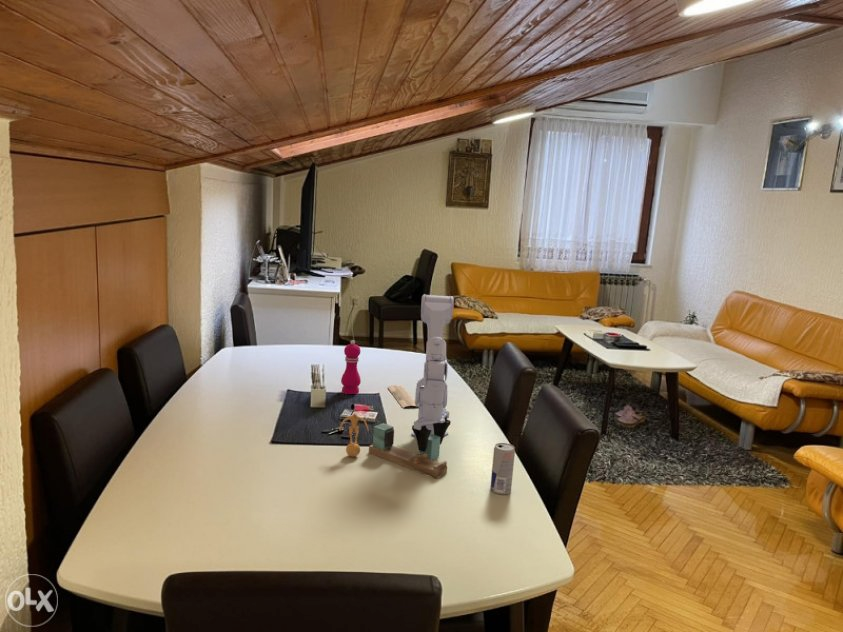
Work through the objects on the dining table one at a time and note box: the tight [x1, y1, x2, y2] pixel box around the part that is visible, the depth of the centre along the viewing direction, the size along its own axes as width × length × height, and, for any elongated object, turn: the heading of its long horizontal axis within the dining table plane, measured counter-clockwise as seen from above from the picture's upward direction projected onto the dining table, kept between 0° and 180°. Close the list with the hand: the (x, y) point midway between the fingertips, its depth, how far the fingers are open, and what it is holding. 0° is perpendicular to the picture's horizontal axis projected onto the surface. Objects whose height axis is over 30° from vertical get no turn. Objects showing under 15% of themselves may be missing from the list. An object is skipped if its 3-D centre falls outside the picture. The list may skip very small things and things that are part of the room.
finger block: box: [418, 434, 441, 461], centre depth 181 cm, size 4×5×6 cm
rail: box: [368, 423, 448, 479], centre depth 176 cm, size 5×24×8 cm, turn 53°
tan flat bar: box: [387, 384, 419, 409], centre depth 233 cm, size 24×7×2 cm, turn 16°
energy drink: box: [490, 442, 516, 496], centre depth 162 cm, size 5×5×12 cm
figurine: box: [338, 413, 369, 458], centre depth 178 cm, size 8×6×12 cm
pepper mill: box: [340, 339, 362, 395], centre depth 233 cm, size 7×7×20 cm
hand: (430, 447), depth 181 cm, fingers open, 7 cm apart
